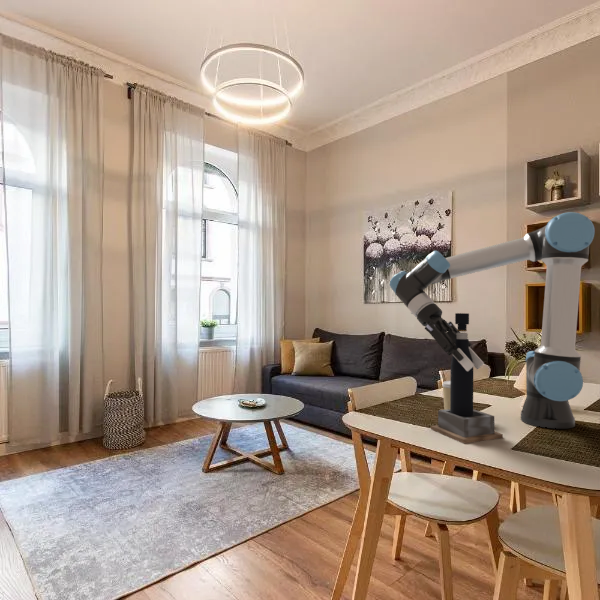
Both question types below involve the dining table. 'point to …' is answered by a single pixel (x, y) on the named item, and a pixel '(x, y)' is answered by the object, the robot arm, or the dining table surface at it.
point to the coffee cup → (446, 394)
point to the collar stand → (466, 426)
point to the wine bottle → (461, 373)
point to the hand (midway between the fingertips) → (475, 367)
